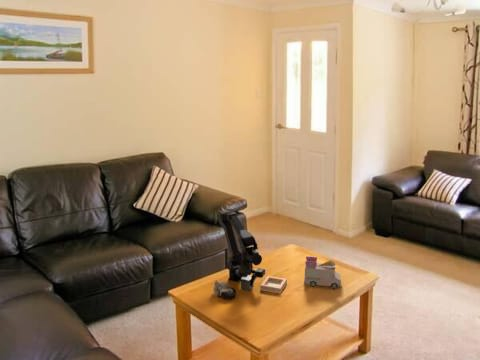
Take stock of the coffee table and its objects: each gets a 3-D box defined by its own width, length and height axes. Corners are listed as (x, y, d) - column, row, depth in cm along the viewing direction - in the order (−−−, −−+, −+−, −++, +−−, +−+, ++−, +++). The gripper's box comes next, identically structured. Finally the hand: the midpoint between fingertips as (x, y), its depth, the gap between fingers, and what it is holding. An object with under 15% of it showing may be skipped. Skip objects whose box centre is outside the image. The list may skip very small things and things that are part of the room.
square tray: (260, 290, 248) (260, 285, 247) (267, 280, 259) (267, 275, 258) (280, 293, 244) (280, 288, 243) (286, 283, 255) (286, 279, 254)
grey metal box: (240, 289, 249) (240, 279, 247) (244, 284, 254) (244, 274, 253) (249, 291, 247) (249, 280, 245) (253, 286, 252) (253, 275, 251)
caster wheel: (237, 302, 240) (219, 303, 236) (229, 289, 250) (212, 290, 245) (240, 291, 238) (222, 293, 233) (232, 278, 247) (214, 279, 243)
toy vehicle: (340, 290, 246) (342, 264, 243) (303, 287, 250) (304, 261, 247) (340, 283, 255) (341, 257, 252) (304, 280, 259) (305, 254, 255)
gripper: (224, 261, 242) (225, 289, 246) (258, 267, 236) (258, 295, 239) (233, 253, 252) (233, 280, 256) (265, 258, 246) (265, 285, 250)
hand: (247, 285), depth 250 cm, fingers closed on grey metal box, 5 cm apart
